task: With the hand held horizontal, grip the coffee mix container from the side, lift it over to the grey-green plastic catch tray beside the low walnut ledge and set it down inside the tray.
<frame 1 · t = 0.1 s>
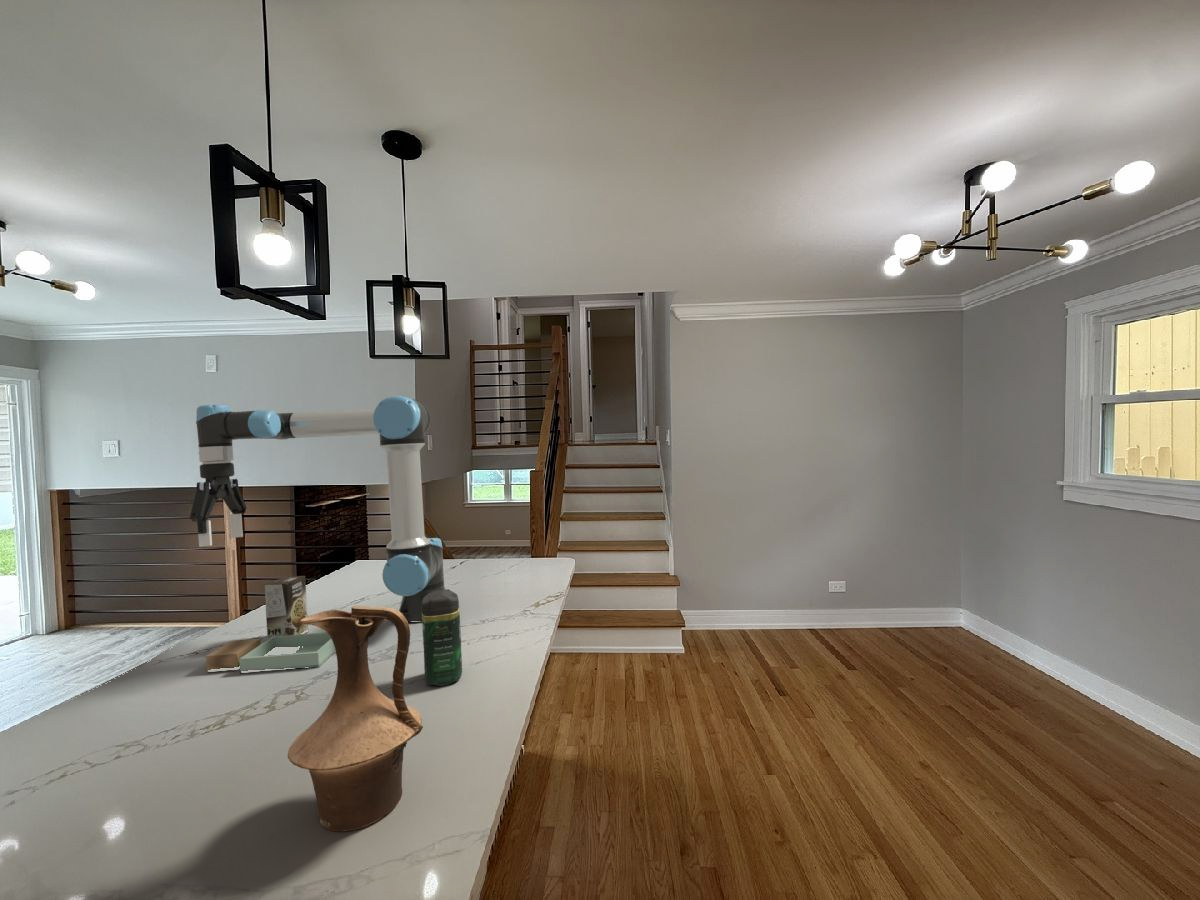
hand: (222, 541, 145), 28 cm above the table, tool pointing down, fingers open, 13 cm apart
walnut ledge: (235, 663, 131), on the table
coffee box: (288, 638, 148), on the table
pitcher: (363, 806, 76), on the table
catch tray: (294, 658, 133), on the table
coffee jar: (444, 678, 117), on the table
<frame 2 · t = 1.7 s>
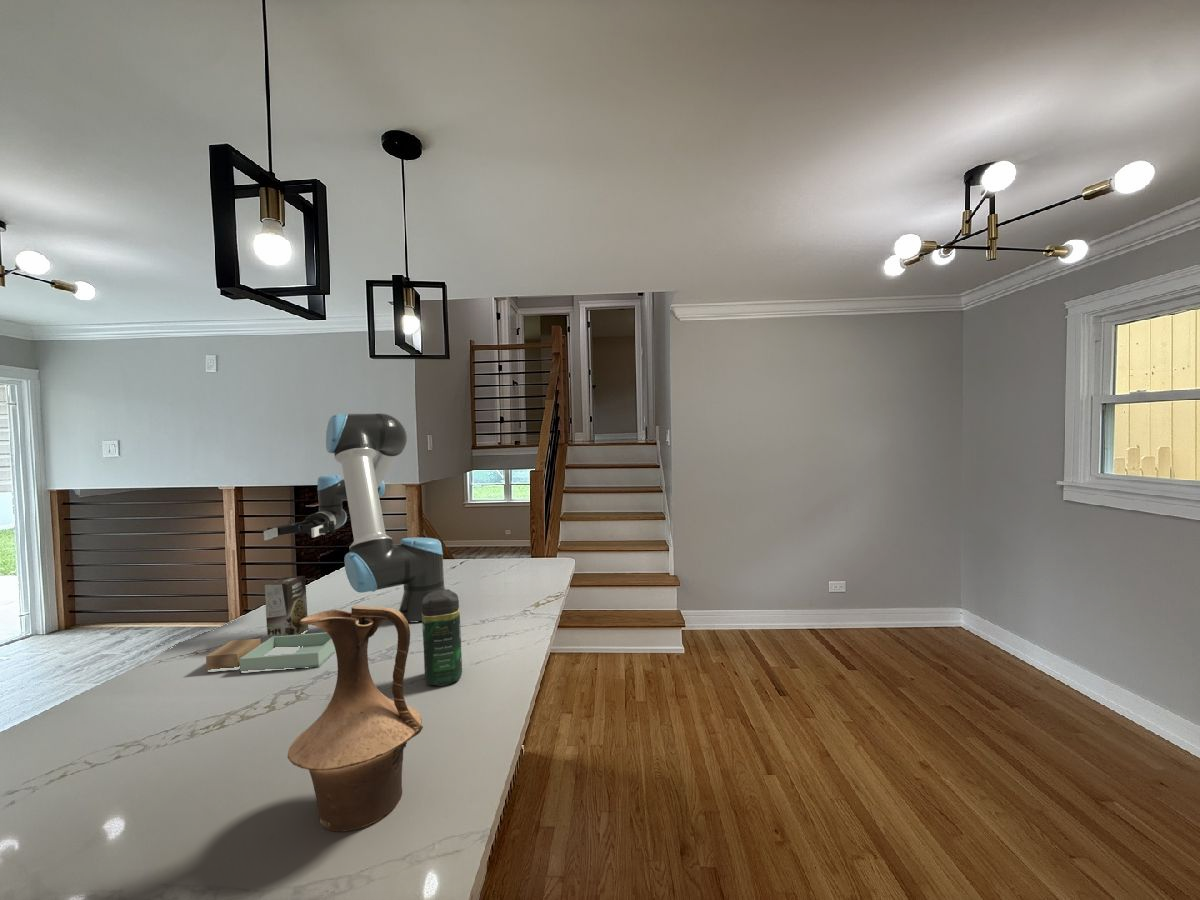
hand: (289, 534, 161), 27 cm above the table, tool horizontal, fingers open, 13 cm apart
nothing on the table moved.
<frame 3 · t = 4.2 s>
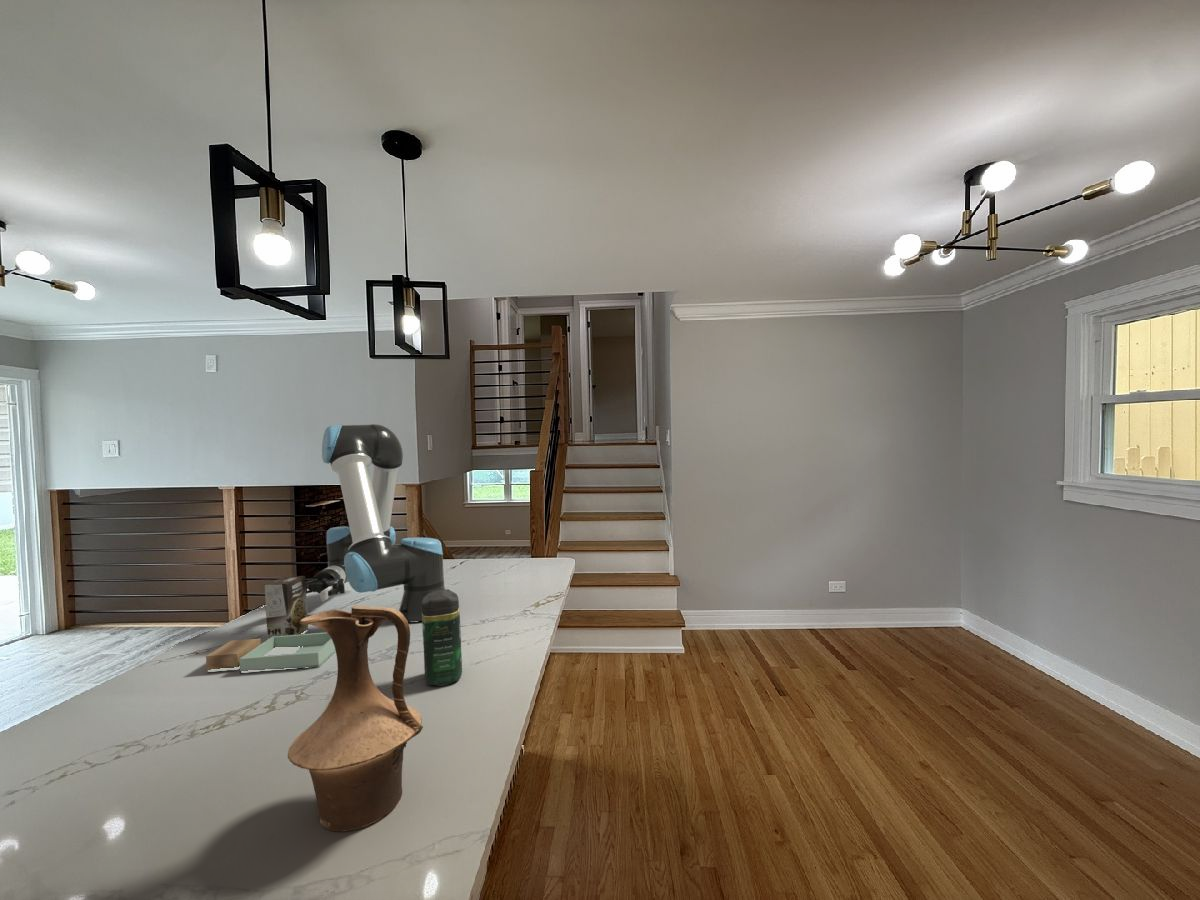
hand: (297, 598, 154), 9 cm above the table, tool horizontal, fingers open, 13 cm apart
nothing on the table moved.
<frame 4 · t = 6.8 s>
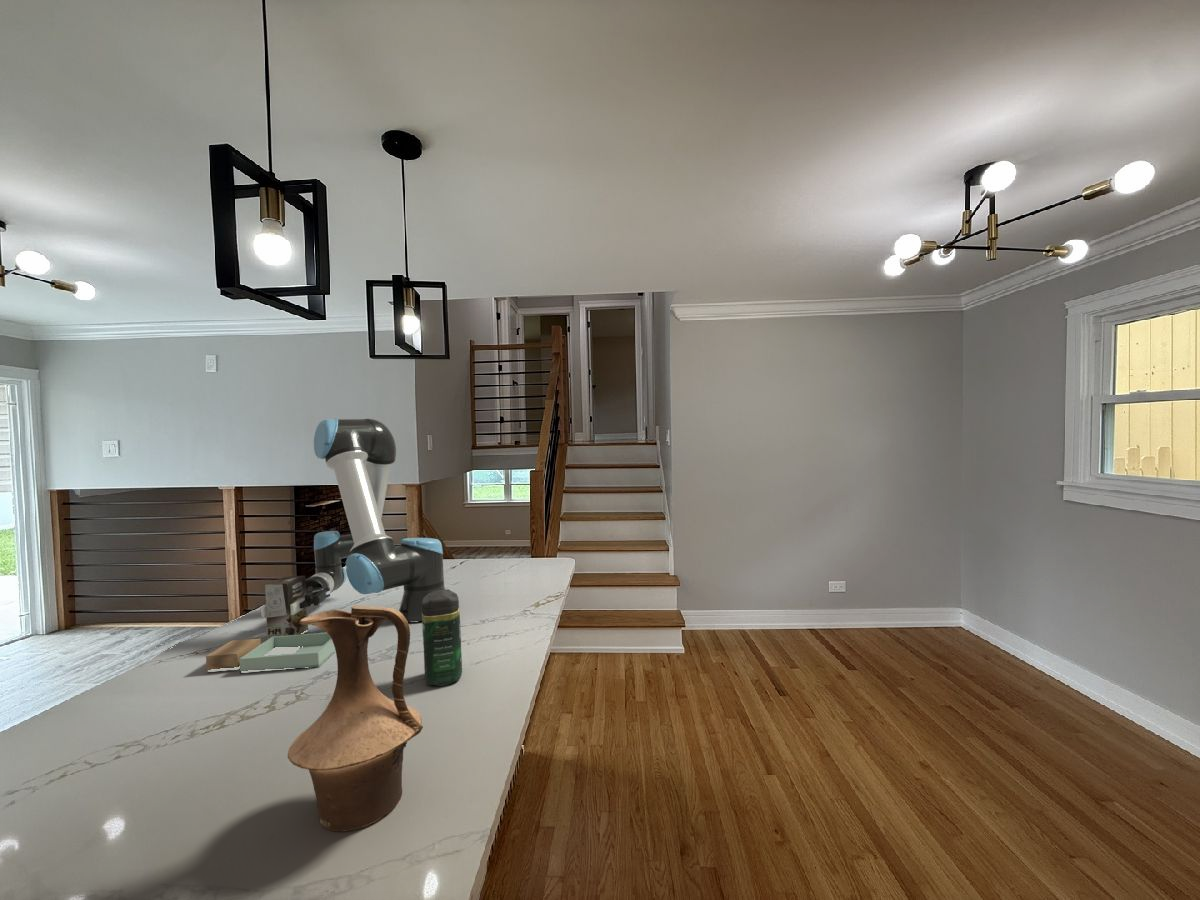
hand: (277, 610, 143), 9 cm above the table, tool horizontal, fingers closed on coffee box, 7 cm apart
coffee box: (288, 638, 148), on the table, touching gripper
everything else where it was.
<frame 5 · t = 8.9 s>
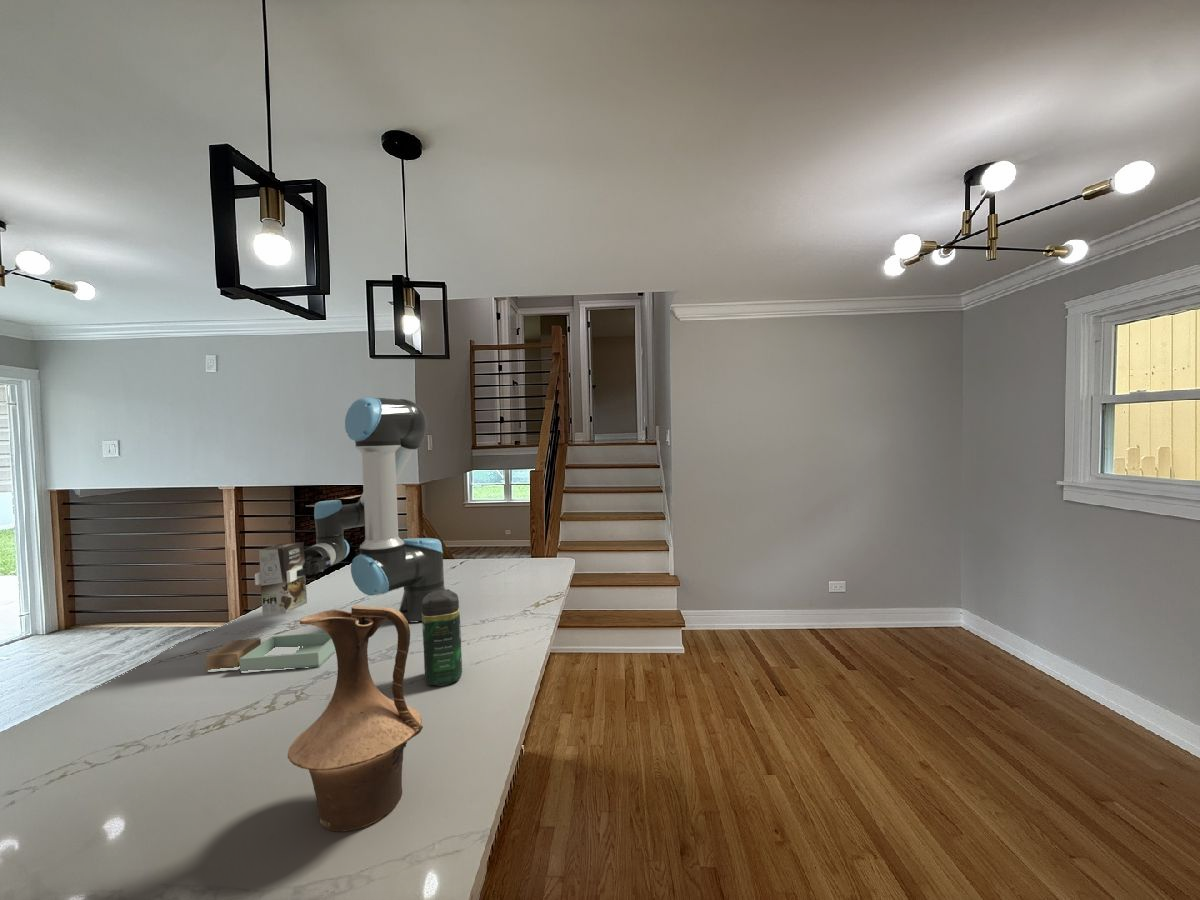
hand: (272, 578, 131), 20 cm above the table, tool horizontal, fingers closed on coffee box, 7 cm apart
coffee box: (285, 609, 136), point 11 cm above the table, touching gripper
everything else where it was.
when the fingers open (11 cm above the table, at t = 11.3 s): coffee box drops 1 cm, resting on catch tray.
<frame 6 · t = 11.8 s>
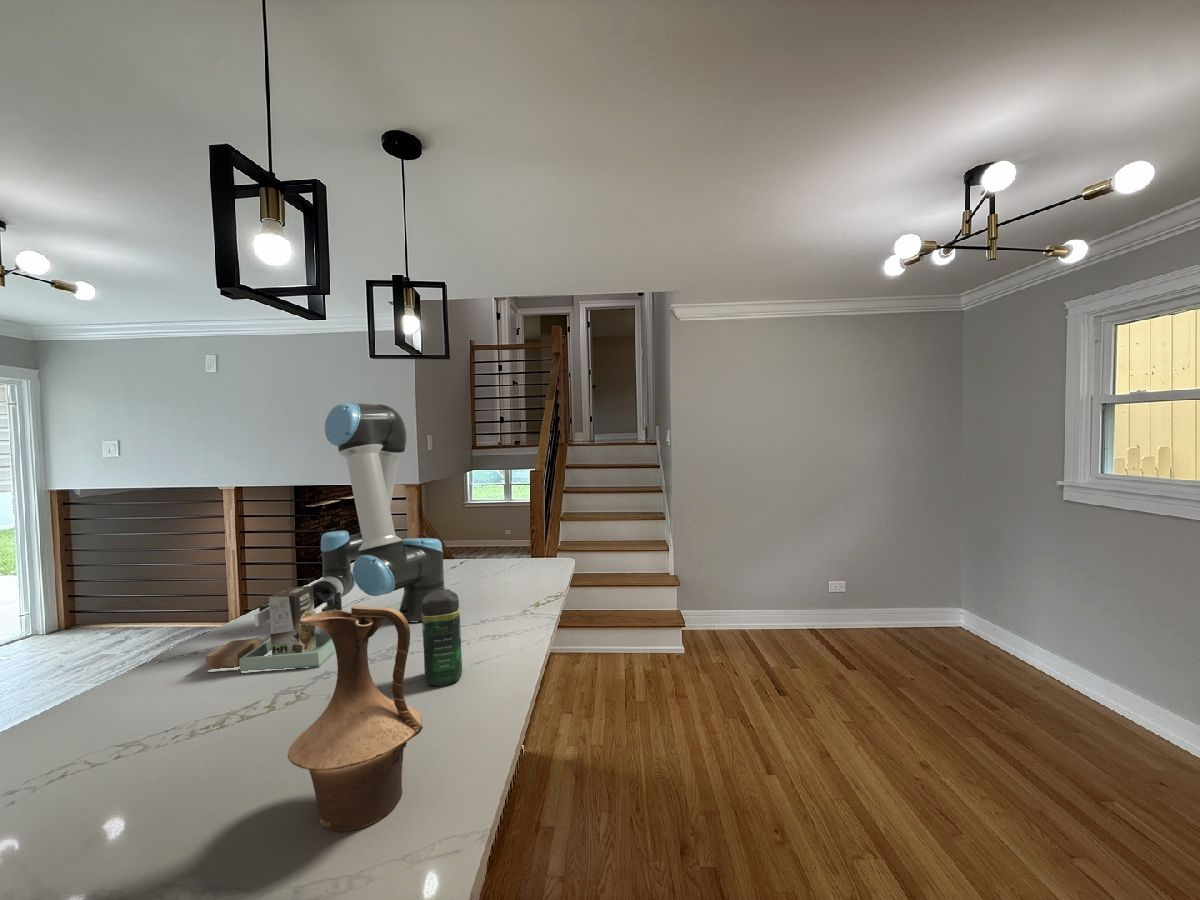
hand: (285, 618, 129), 11 cm above the table, tool horizontal, fingers open, 13 cm apart
coffee box: (295, 656, 133), resting on catch tray
everything else where it was.
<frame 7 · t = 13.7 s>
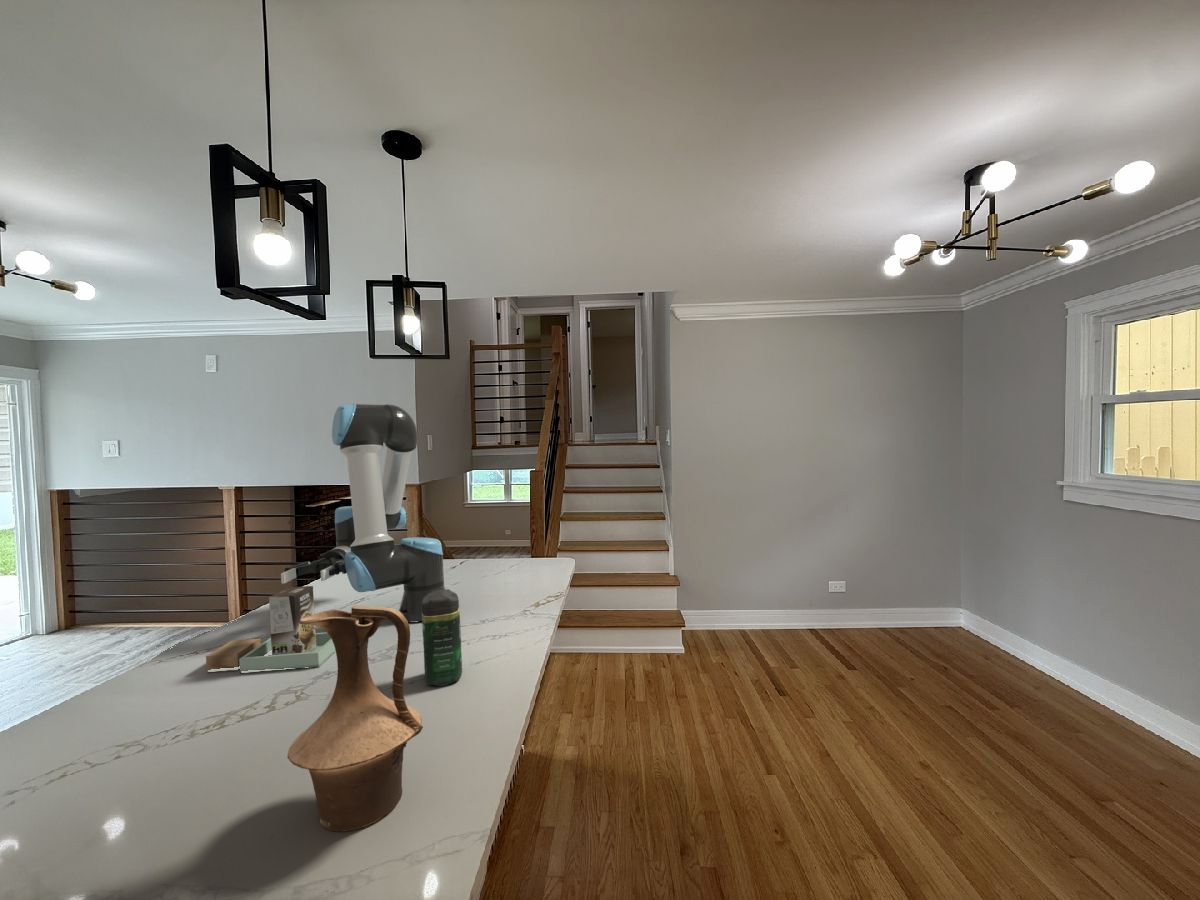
hand: (302, 577, 146), 17 cm above the table, tool horizontal, fingers open, 10 cm apart
nothing on the table moved.
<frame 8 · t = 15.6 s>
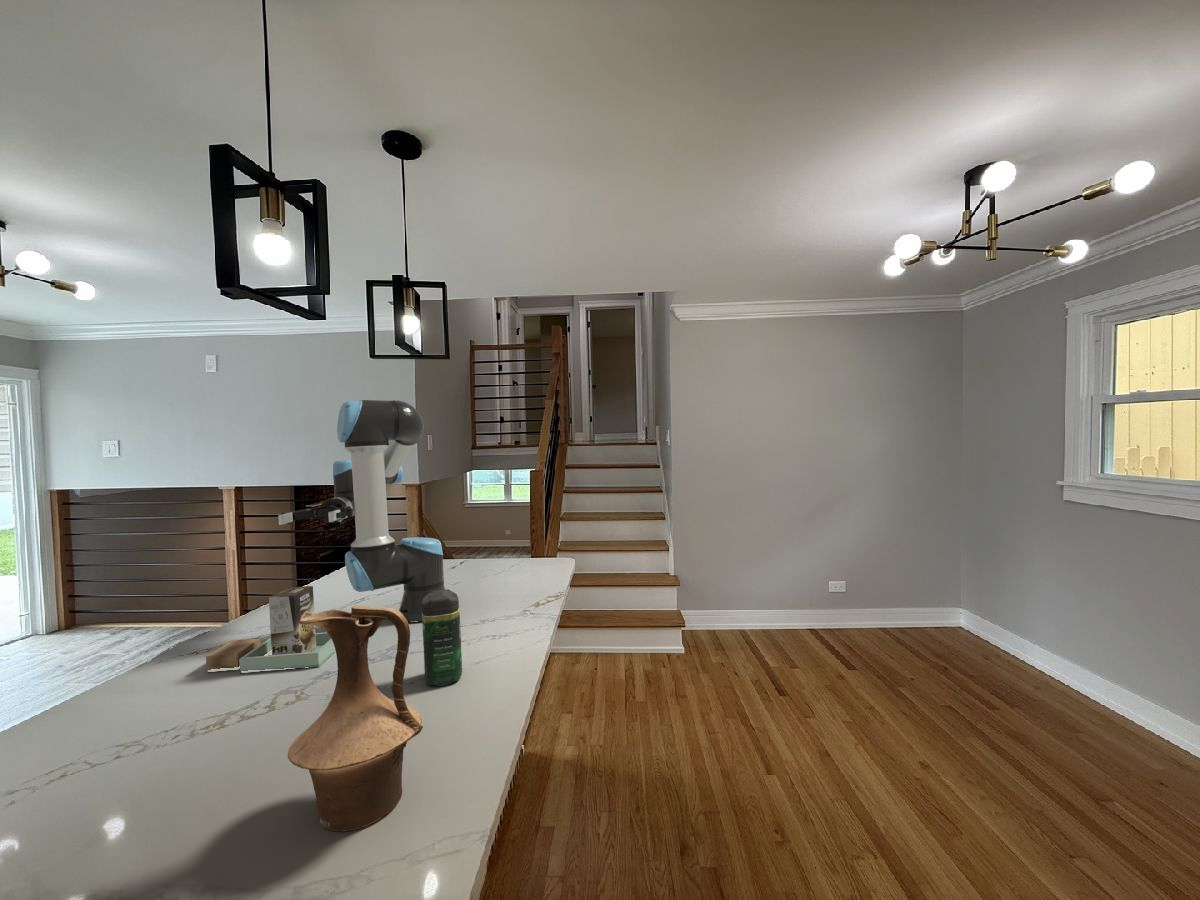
hand: (305, 518, 152), 32 cm above the table, tool horizontal, fingers open, 13 cm apart
nothing on the table moved.
at the end: coffee box inside the target area on the catch tray (0.2 cm from its centre), point 0.4 cm above the catch tray's base; the gripper is holding nothing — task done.
